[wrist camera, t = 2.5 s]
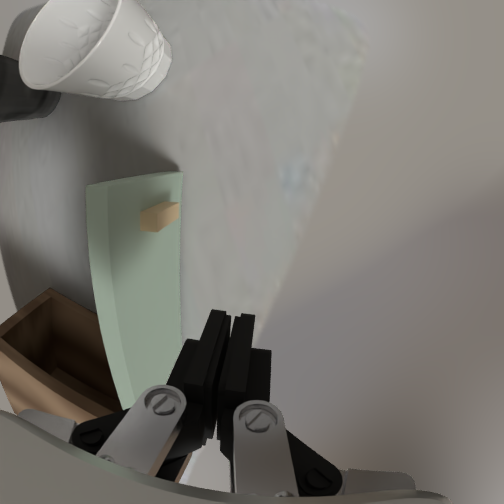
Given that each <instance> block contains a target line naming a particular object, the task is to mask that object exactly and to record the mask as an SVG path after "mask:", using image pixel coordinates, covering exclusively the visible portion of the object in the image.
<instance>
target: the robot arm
mask: <svg viewBox="0 0 504 504" xmlns="http://www.w3.org/2000/svg"><path fill="white" fill-rule="evenodd" d="M254 322H255V315H252V314H243V313H241V317H238V316H235V319H234V323H233V327H232V332H231V336H230V327H231V316H230V315H226V311H221V310H214V309H212V310H211V312H210V315H209V318H208V320H207V323H206V325H205V328H204V330H203V333H202V335H201V338H200V340H193V339H187V340H186V341H185V343H184V345H183V348H182V350H181V352H180V354H179V357H178V359H177V361H176V363H175V365H174V368H173V370H172V372H171V374H170V377H169V379H168V381H167V383H166V385H156V386H152V387H150V388H148V389H146V390H145V391H144V392H143V393H142V394H141V395H140V397H139V398H138V399H137V401H136V402H135V403H134V405H133V406H132V407H131V408H128V409H125V410H121V411H118V412H115V413H112V414H109V415H105V416H102V417H99V418H95V419H91V420H88V421H85V422H82V423H80V424H79V423H76V421H75V420H72V419H68V418H64V417H60V416H56V415H52V414H49V413H45V412H42V411H38V410H35V409H25V410H23V411H21V412H20V413H19V414H18V415H17V416H16V415H14V414H12V413H9V412H6V411H3V410H0V504H453V503H452V501H451V500H449V499H448V498H447V497H445V496H443V495H441V494H438V493H434V492H429V491H422V490H416V486H415V481H414V480H413V478H412V477H411V476H410V475H408V474H407V473H403V472H386V471H370V470H358V469H348V470H347V471H345V470H338V469H337V468H336V467H335V466H334V465H333V464H331V463H330V462H329V461H327V460H326V459H324V458H323V457H322V456H320V455H319V454H317V453H316V452H315V451H313V450H312V449H311V448H309V447H308V446H307V445H306V444H304V443H303V442H302V441H300V440H299V439H298V438H296V437H295V436H294V435H293V434H291V433H290V432H289V431H288V430H286V428H285V423H284V418H283V415H282V413H281V411H280V410H279V409H278V408H277V407H276V406H275V405H273V404H271V403H269V401H270V378H271V350H265V349H256V348H251V347H252V338H253V330H254ZM216 421H217V440H220V451H221V452H222V453H223V455H224V456H225V457H226V458H227V459H228V460H229V470H230V493H228V492H221V491H215V490H209V489H204V488H198V487H193V486H188V485H184V484H180V483H179V481H180V479H181V477H182V475H183V473H184V471H185V469H186V467H187V465H188V463H189V461H190V459H191V456H192V452H193V451H195V450H197V449H199V448H201V447H202V445H206V441H207V438H209V439H212V438H213V435H214V430H215V426H216Z"/></svg>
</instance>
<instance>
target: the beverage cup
mask: <svg viewBox="0 0 504 504" xmlns="http://www.w3.org/2000/svg"><path fill="white" fill-rule="evenodd" d="M60 95H61V92H55V91H46V90H36V89H32V88H30V87H28V86H27V85H26V84H25V83H24V82H23V81H22V79H21V76H20V72H19V61H17V60H14V59H11V58H8V57H6V56H3V55H0V122H7V121H16V120H27V119H34V118H43V117H46V116H48V115H49V114H50V113H51V112H52V111H53V110H54V109H55V107H56V105H57V103H58V101H59V98H60Z"/></svg>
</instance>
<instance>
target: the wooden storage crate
mask: <svg viewBox="0 0 504 504" xmlns="http://www.w3.org/2000/svg"><path fill="white" fill-rule="evenodd" d="M0 381H1V383H2V386H3V388H4V391H5V393H6V395H7V397H8V400H9V402H10V404H11V406H12V408H13V411H14V413H15V414H17V415H18V414H19V413H20V412H21V411H23V410H25V409H35V410H38V411H42V412H45V413H49V414H52V415H56V416H60V417H64V418H68V419H72V420H75V421H76V423H79V424H80V423H82V422H85V421H88V420H91V419H95V418H99V417H102V416H105V415H109V414H112V413H115V412H118V411H121V410H123V409H122V406H121V403H120V400H119V397H118V394H117V390H116V387H115V384H114V381H113V377H112V374H111V370H110V366H109V363H108V359H107V355H106V351H105V347H104V343H103V338H102V334H101V329H100V324H99V319H98V315H97V314H96V313H94V312H92V311H90V310H88V309H86V308H84V307H82V306H81V305H79V304H77V303H75V302H73V301H72V300H70V299H68V298H66V297H64V296H63V295H61V294H59V293H58V292H56V291H54V290H53V289H51V288H49V289H47V290H46V291H44V292H43V293H42V294H40V295H39V296H37V297H36V298H35V299H33V300H32V301H31V302H29V303H28V304H27V305H25V306H24V307H23V308H21V309H20V310H19V311H17V312H16V313H15V314H14V315H12V316H11V317H10V318H8V319H7V320H6V321H5V322H3V323H2V324H1V325H0Z"/></svg>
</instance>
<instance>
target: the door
mask: <svg viewBox="0 0 504 504" xmlns="http://www.w3.org/2000/svg"><path fill="white" fill-rule="evenodd" d="M182 180H183V172H175V171H166V172H159V173H152V174H146V175H140V176H133V177H128V178H122V179H116V180H111V181H106V182H101V183H96V184H91V185H86V223H87V238H88V250H89V260H90V269H91V277H92V284H93V291H94V297H95V303H96V309H97V314H98V319H99V324H100V329H101V334H102V338H103V343H104V347H105V351H106V355H107V359H108V363H109V366H110V370H111V374H112V377H113V381H114V384H115V387H116V390H117V394H118V397H119V400H120V403H121V406H122V409H123V410H125V409H128V408H131V407H132V406H133V405H134V403H135V402H136V401H137V399H138V398H139V397H140V395H141V394H142V393H143V392H144V391H145V390H146V389H148V388H150V387H152V386H156V385H165V384H166V382H167V379H168V377H169V375H170V373H171V370H172V368H173V366H174V364H175V361H176V359H177V357H178V355H179V352H180V350H181V348H182V338H181V312H180V224H181V198H182Z"/></svg>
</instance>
